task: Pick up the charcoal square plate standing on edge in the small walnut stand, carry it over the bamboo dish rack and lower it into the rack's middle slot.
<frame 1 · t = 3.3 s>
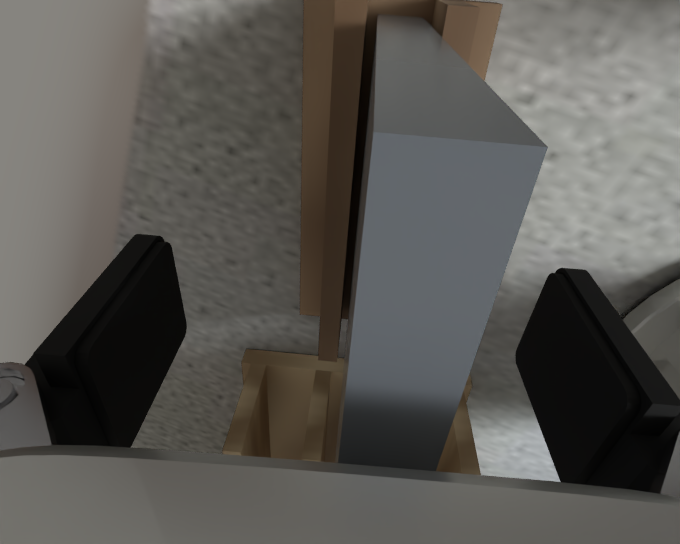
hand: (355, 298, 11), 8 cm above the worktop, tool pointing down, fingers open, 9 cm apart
rack: (348, 427, 27), on the worktop
plate stand: (378, 186, 17), on the worktop
plate: (378, 194, 17), point 1 cm above the worktop, touching plate stand
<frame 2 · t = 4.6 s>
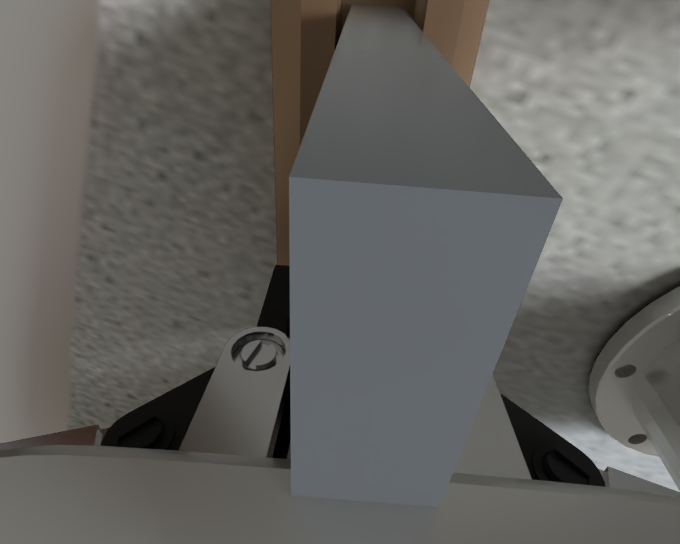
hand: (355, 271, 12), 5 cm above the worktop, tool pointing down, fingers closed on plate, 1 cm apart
plate stand: (359, 192, 16), on the worktop
plate: (358, 201, 15), point 1 cm above the worktop, touching gripper
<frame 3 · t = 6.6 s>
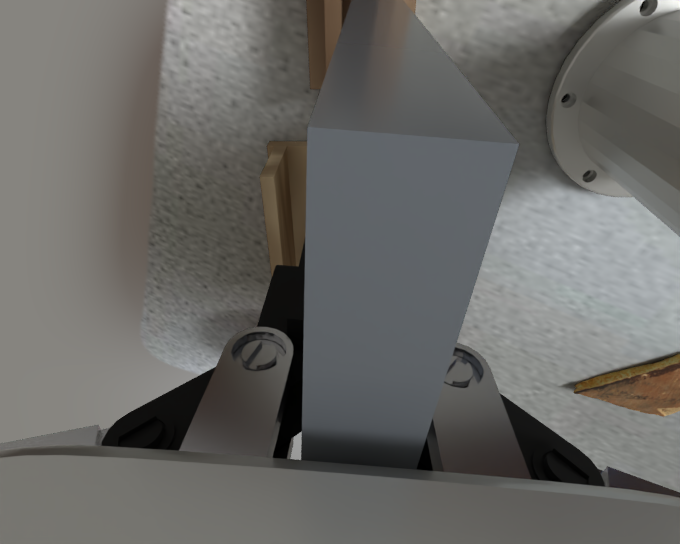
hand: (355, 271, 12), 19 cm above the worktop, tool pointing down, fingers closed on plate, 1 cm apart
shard: (639, 384, 42), on the worktop
rack: (356, 220, 32), on the worktop
plate: (359, 186, 16), point 14 cm above the worktop, touching gripper
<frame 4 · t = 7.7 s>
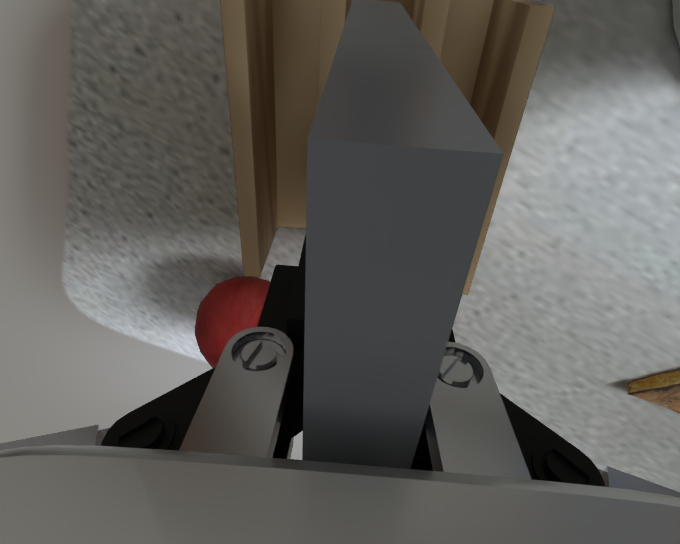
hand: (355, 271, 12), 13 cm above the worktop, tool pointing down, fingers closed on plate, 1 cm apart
rack: (368, 124, 22), on the worktop
plate: (358, 187, 16), point 8 cm above the worktop, touching gripper
onion: (259, 285, 29), on the worktop
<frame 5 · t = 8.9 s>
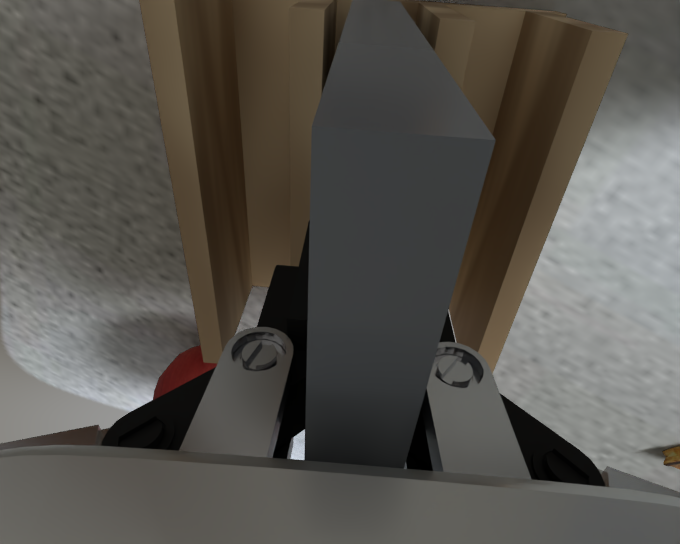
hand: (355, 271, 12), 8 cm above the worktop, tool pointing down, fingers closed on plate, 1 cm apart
rack: (361, 166, 18), on the worktop
plate: (359, 184, 16), point 2 cm above the worktop, touching gripper
onion: (234, 345, 25), on the worktop
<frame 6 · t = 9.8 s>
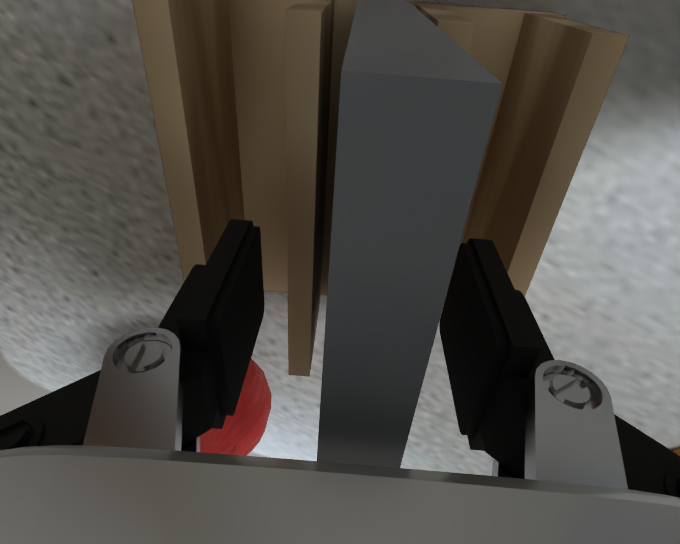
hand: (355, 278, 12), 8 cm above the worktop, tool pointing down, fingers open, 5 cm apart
rack: (359, 169, 18), on the worktop
plate: (363, 176, 17), point 1 cm above the worktop, touching rack
onion: (231, 349, 25), on the worktop
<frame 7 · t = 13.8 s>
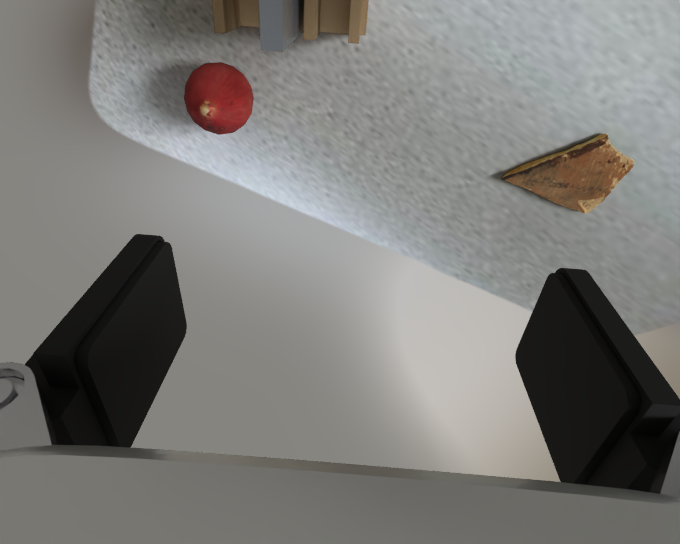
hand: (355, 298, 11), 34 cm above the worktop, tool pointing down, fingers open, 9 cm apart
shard: (563, 180, 45), on the worktop
onion: (230, 88, 41), on the worktop
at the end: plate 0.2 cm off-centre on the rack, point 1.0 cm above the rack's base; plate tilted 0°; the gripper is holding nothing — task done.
